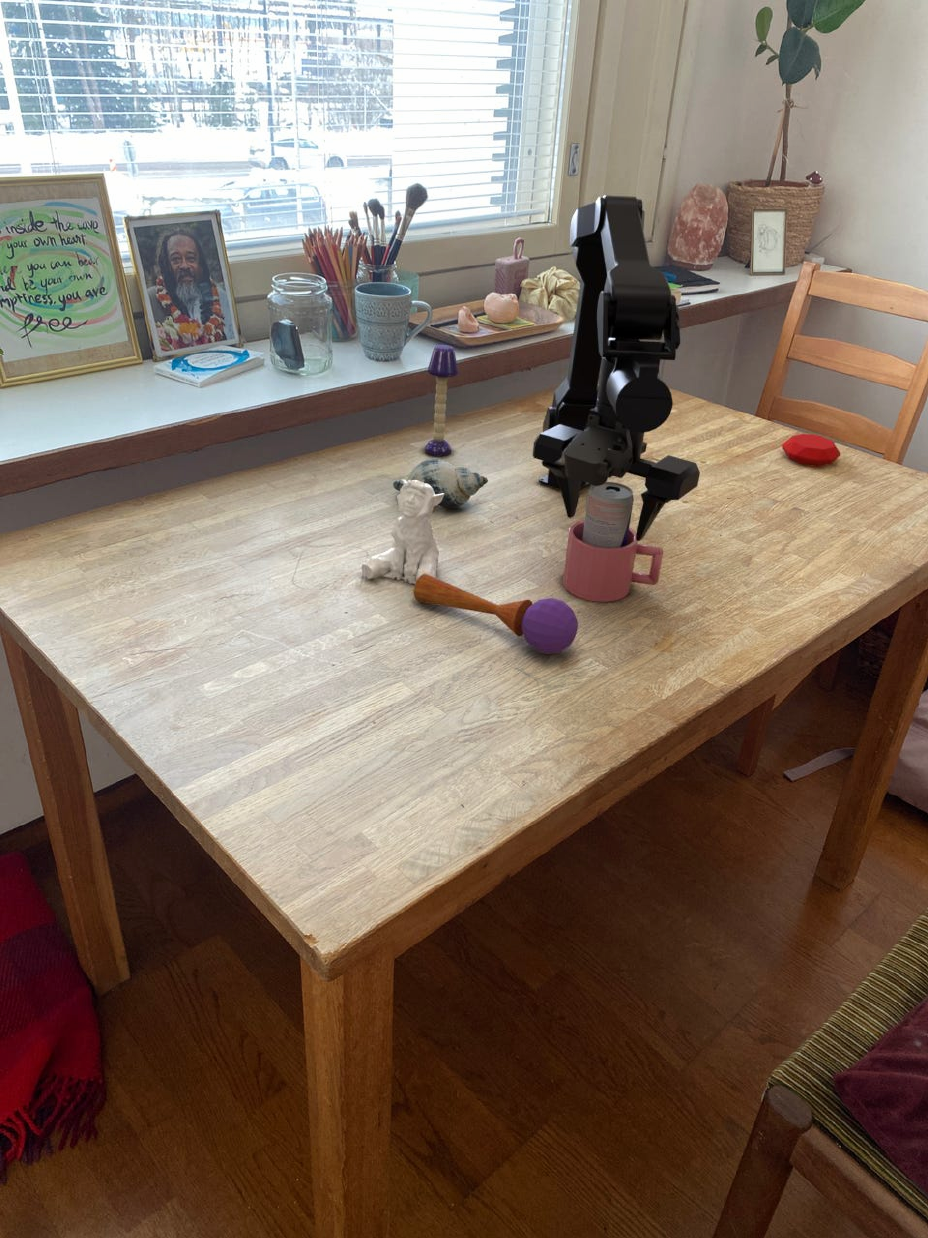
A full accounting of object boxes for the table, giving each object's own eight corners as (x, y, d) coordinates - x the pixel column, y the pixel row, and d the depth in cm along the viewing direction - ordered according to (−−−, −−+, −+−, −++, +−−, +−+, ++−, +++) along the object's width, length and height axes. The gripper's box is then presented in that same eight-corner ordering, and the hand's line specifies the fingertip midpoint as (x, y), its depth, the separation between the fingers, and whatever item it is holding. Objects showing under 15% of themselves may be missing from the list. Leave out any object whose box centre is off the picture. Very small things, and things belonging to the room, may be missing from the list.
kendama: (439, 558, 111) (590, 600, 101) (434, 606, 113) (583, 652, 103) (409, 567, 106) (565, 613, 96) (404, 617, 108) (557, 666, 98)
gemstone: (791, 444, 162) (795, 427, 160) (843, 457, 158) (848, 440, 156) (773, 458, 156) (777, 441, 154) (827, 473, 151) (831, 455, 150)
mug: (559, 596, 113) (566, 544, 109) (566, 565, 120) (572, 515, 116) (655, 609, 111) (665, 557, 108) (656, 577, 118) (665, 527, 114)
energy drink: (624, 574, 117) (638, 485, 111) (616, 594, 113) (630, 502, 106) (582, 566, 118) (593, 477, 112) (573, 585, 114) (584, 494, 108)
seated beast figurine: (358, 578, 114) (357, 486, 108) (391, 549, 121) (392, 462, 115) (429, 596, 111) (432, 503, 105) (458, 566, 118) (463, 477, 112)
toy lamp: (427, 444, 153) (431, 341, 144) (456, 447, 153) (461, 344, 144) (422, 454, 149) (425, 349, 140) (451, 457, 149) (456, 352, 140)
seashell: (421, 495, 139) (480, 521, 133) (387, 487, 134) (447, 514, 127) (434, 454, 138) (495, 478, 131) (401, 444, 132) (462, 469, 125)
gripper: (512, 397, 102) (501, 527, 110) (668, 440, 93) (644, 578, 101) (564, 375, 110) (551, 498, 118) (713, 413, 101) (687, 543, 109)
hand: (604, 528), depth 112 cm, fingers open, 9 cm apart
